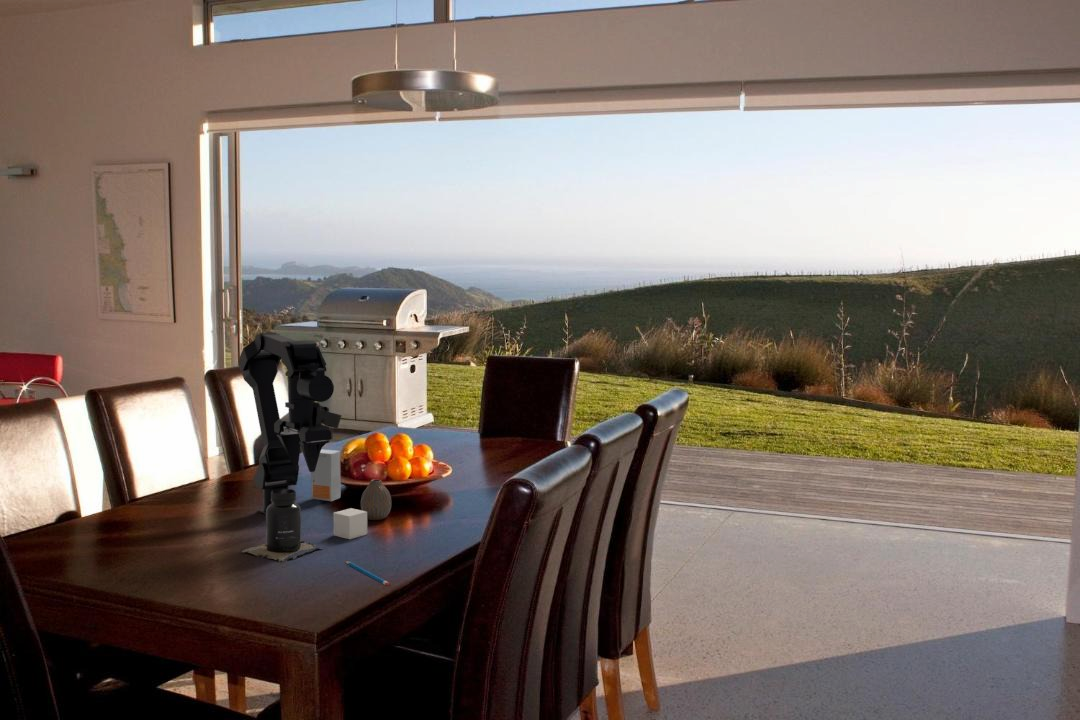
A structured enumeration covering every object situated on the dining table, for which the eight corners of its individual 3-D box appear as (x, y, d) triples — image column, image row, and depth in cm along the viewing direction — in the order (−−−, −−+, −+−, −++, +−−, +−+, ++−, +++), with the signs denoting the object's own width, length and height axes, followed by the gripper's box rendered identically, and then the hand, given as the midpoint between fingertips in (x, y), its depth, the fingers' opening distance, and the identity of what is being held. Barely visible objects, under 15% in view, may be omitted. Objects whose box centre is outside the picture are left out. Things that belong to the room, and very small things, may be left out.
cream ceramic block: (333, 535, 200) (333, 512, 200) (351, 530, 204) (351, 508, 204) (349, 539, 197) (349, 516, 197) (367, 534, 201) (367, 511, 201)
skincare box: (310, 499, 232) (310, 451, 231) (321, 495, 236) (320, 448, 235) (331, 501, 230) (330, 453, 229) (341, 498, 234) (340, 450, 232)
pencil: (386, 587, 168) (386, 583, 168) (343, 563, 181) (343, 560, 181) (390, 586, 168) (390, 582, 168) (347, 563, 182) (347, 559, 182)
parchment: (283, 564, 181) (283, 559, 181) (236, 554, 187) (236, 549, 187) (328, 549, 191) (328, 544, 191) (282, 539, 198) (282, 535, 198)
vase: (385, 522, 210) (384, 484, 210) (356, 521, 212) (355, 482, 211) (395, 515, 217) (395, 477, 216) (367, 513, 219) (367, 476, 218)
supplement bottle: (283, 556, 185) (281, 496, 184) (259, 551, 188) (257, 492, 187) (308, 548, 191) (307, 490, 190) (285, 543, 194) (283, 486, 193)
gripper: (354, 398, 202) (356, 470, 203) (319, 391, 217) (320, 458, 218) (305, 403, 195) (307, 477, 196) (272, 395, 210) (274, 464, 211)
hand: (303, 468), depth 206 cm, fingers open, 9 cm apart
